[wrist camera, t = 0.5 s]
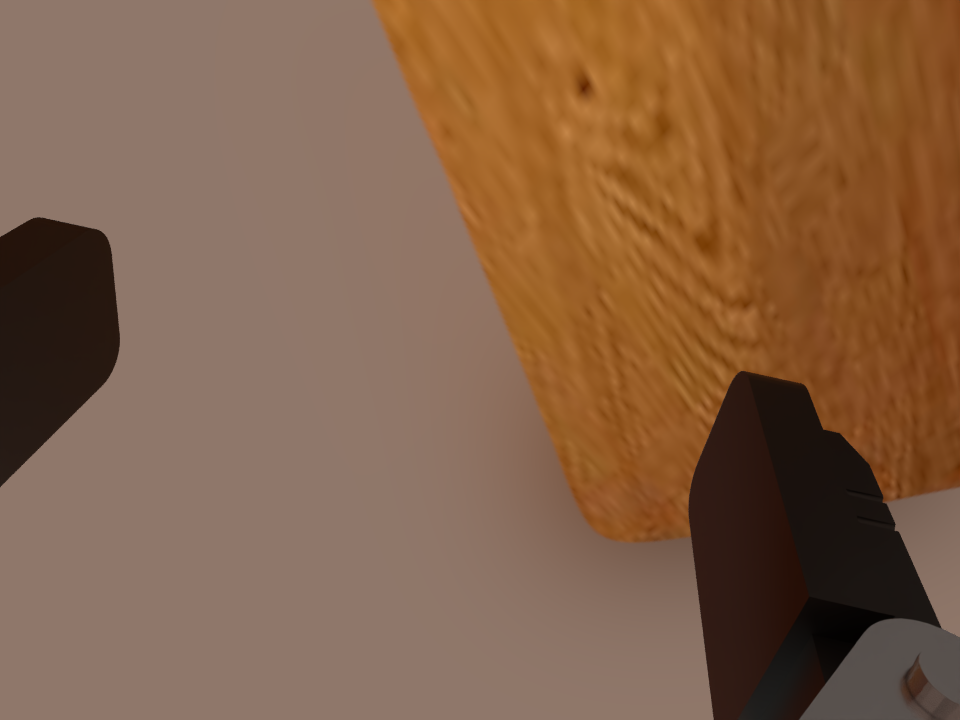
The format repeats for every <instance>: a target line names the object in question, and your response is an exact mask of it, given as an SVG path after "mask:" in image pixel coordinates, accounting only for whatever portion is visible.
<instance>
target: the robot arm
mask: <svg viewBox="0 0 960 720" xmlns="http://www.w3.org/2000/svg"><path fill="white" fill-rule="evenodd" d="M119 346H120V333H119V324H118V313H117V304H116V293H115V283H114V273H113V263H112V254H111V248H110V244H109V241H108V239H107V237H106V236H105V234H104V233H102V232H101V231H99V230H97V229H92V228H87V227H83V226H78V225H74V224H69V223H65V222H60V221H55V220H50V219H46V218H40V217H37V218H33V219H31V220H29V221H27V222H25V223H23V224H22V225H20V226H18V227H17V228H15V229H13V230H11V231H10V232H8V233H7V234H5V235H3V236H1V237H0V487H1V486H2V485H3V484H4V483H5V482H6V481H7V480H8V479H9V477H11V475H12V474H14V473H15V471H17V470H18V469H19V468H20V467H21V466H22V465H23V464H24V463H25V462H26V461H27V460H28V459H29V458H30V457H31V456H32V455H33V454H34V453H35V452H36V451H37V450H38V449H39V448H40V447H41V446H42V445H43V444H44V443H45V442H46V441H47V440H48V439H49V438H50V437H51V436H52V435H53V434H54V433H55V432H56V431H57V430H58V429H59V428H60V427H61V426H62V425H63V424H64V423H65V422H66V421H67V420H68V419H69V418H70V417H71V416H72V415H73V414H74V413H75V412H76V411H77V410H78V409H79V408H80V407H81V406H82V405H83V404H84V403H85V402H86V401H87V400H88V399H89V398H90V397H91V396H92V395H93V394H94V393H95V392H96V391H97V390H98V389H99V388H100V387H101V386H102V385H103V384H104V383H105V382H106V381H107V379H108V378H109V376H110V374H111V373H112V371H113V368H114V366H115V363H116V360H117V357H118V352H119ZM882 501H883V495H882V493H881V490H880V488H879V486H878V483H877V481H876V479H875V477H874V474H873V472H872V470H871V468H870V465H869V464H868V463H867V462H866V461H865V460H864V459H863V458H862V456H861V455H860V454H859V453H858V452H857V451H856V450H855V449H854V448H853V447H852V446H851V445H850V444H849V443H848V442H847V441H846V439H845V438H844V437H843V436H842V435H841V434H840V433H836V432H832V431H827V430H823V428H822V426H821V423H820V420H819V418H818V415H817V413H816V410H815V407H814V405H813V402H812V400H811V397H810V395H809V392H808V390H807V388H806V386H805V385H803V384H801V383H796V382H792V381H787V380H782V379H778V378H773V377H769V376H764V375H759V374H755V373H750V372H745V371H741V372H739V373H738V374H737V375H736V376H735V377H734V379H733V381H732V382H731V384H730V386H729V389H728V391H727V393H726V396H725V398H724V401H723V403H722V406H721V408H720V410H719V413H718V415H717V418H716V420H715V423H714V425H713V427H712V430H711V432H710V435H709V437H708V439H707V442H706V444H705V447H704V449H703V452H702V454H701V456H700V459H699V461H698V464H697V466H696V469H695V472H694V475H693V479H692V484H691V489H690V495H689V522H690V530H691V538H692V547H693V555H694V562H695V570H696V579H697V587H698V595H699V603H700V612H701V619H702V627H703V636H704V644H705V652H706V660H707V668H708V677H709V685H710V693H711V701H712V708H713V717H714V720H960V637H958V636H956V635H954V634H952V633H950V632H948V631H946V630H944V629H942V628H941V626H940V624H939V621H938V619H937V617H936V614H935V612H934V610H933V608H932V605H931V603H930V601H929V599H928V596H927V594H926V592H925V590H924V587H923V585H922V583H921V581H920V578H919V576H918V574H917V572H916V569H915V567H914V565H913V563H912V560H911V558H910V556H909V554H908V551H907V549H906V547H905V544H904V542H903V540H902V538H901V535H900V533H899V532H898V531H895V522H894V520H893V517H892V515H891V513H890V511H889V508H888V506H887V504H885V503H882Z"/></svg>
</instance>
